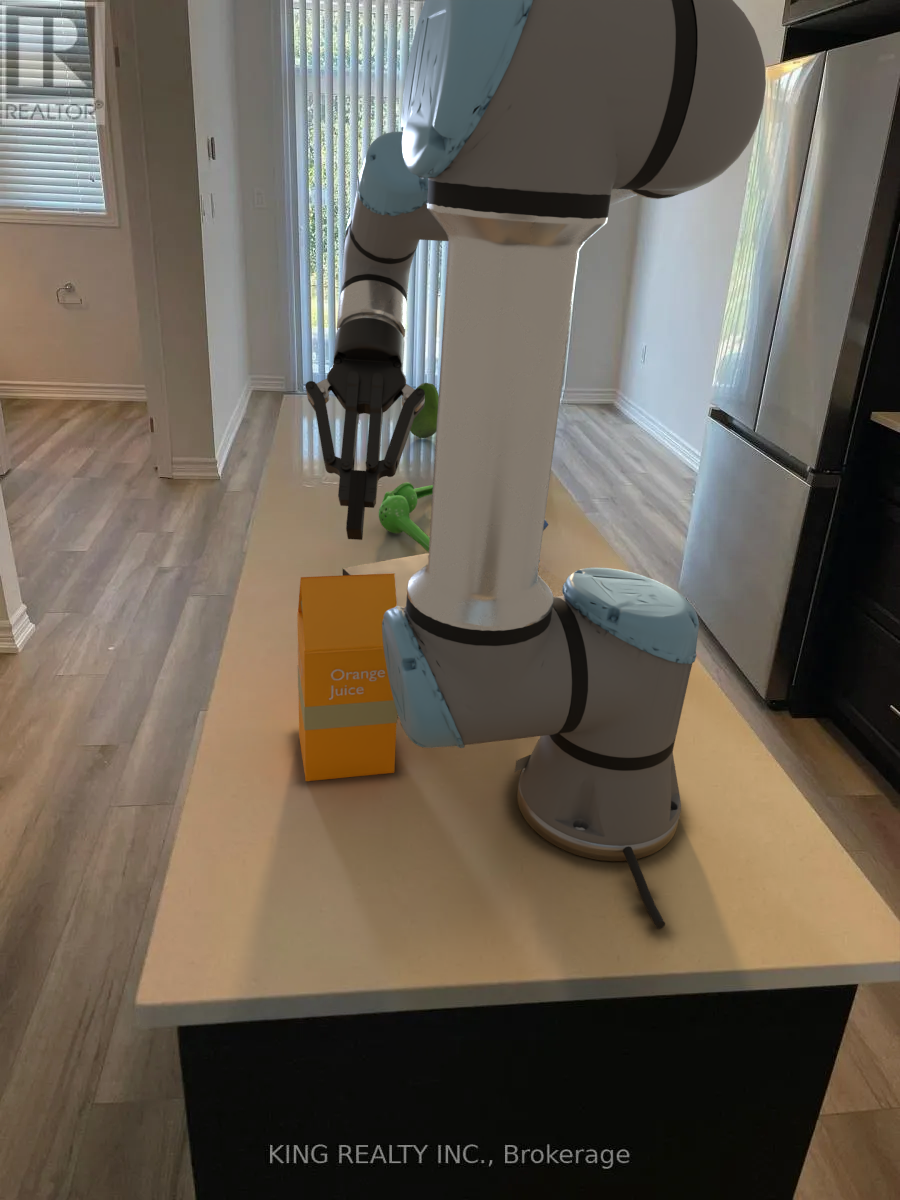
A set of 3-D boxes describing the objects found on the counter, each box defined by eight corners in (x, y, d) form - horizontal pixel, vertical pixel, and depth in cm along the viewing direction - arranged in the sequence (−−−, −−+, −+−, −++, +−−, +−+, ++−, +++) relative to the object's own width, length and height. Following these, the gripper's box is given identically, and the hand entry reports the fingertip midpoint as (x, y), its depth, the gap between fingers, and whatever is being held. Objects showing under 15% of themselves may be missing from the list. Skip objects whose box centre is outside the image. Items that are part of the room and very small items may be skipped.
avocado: (446, 437, 192) (450, 383, 187) (427, 444, 186) (430, 388, 181) (417, 430, 196) (419, 376, 190) (397, 437, 190) (399, 382, 184)
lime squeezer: (451, 568, 129) (454, 529, 126) (372, 564, 129) (373, 525, 126) (449, 493, 159) (451, 460, 156) (385, 489, 159) (386, 456, 156)
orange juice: (395, 773, 85) (403, 591, 76) (304, 782, 83) (302, 596, 74) (382, 727, 92) (388, 555, 83) (298, 734, 90) (295, 559, 81)
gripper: (429, 359, 98) (418, 551, 91) (314, 352, 98) (294, 544, 90) (431, 318, 91) (419, 523, 84) (307, 310, 91) (284, 515, 83)
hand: (354, 534), depth 87 cm, fingers closed
